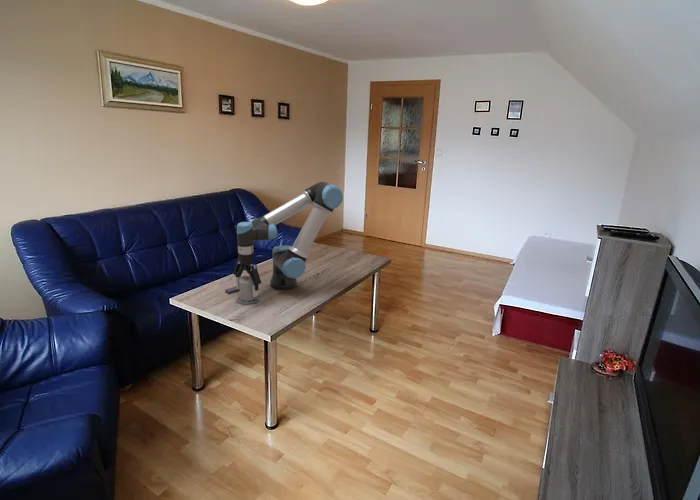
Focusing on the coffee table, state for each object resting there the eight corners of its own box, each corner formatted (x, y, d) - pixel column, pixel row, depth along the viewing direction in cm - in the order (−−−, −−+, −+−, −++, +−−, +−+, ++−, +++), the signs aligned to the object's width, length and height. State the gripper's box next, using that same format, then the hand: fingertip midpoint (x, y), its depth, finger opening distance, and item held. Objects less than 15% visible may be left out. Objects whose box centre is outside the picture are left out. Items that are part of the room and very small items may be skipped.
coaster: (249, 294, 216) (249, 293, 216) (262, 300, 209) (262, 299, 209) (232, 300, 208) (232, 299, 208) (245, 306, 201) (245, 305, 201)
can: (255, 295, 213) (254, 274, 209) (254, 301, 206) (254, 279, 202) (240, 296, 211) (239, 275, 208) (239, 302, 204) (238, 280, 201)
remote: (228, 295, 215) (228, 291, 214) (225, 293, 218) (224, 288, 217) (251, 288, 225) (251, 284, 224) (247, 286, 227) (247, 282, 227)
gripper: (225, 249, 206) (227, 287, 212) (255, 260, 191) (256, 301, 197) (237, 246, 211) (239, 283, 218) (267, 256, 196) (268, 296, 203)
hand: (247, 292), depth 207 cm, fingers open, 13 cm apart
